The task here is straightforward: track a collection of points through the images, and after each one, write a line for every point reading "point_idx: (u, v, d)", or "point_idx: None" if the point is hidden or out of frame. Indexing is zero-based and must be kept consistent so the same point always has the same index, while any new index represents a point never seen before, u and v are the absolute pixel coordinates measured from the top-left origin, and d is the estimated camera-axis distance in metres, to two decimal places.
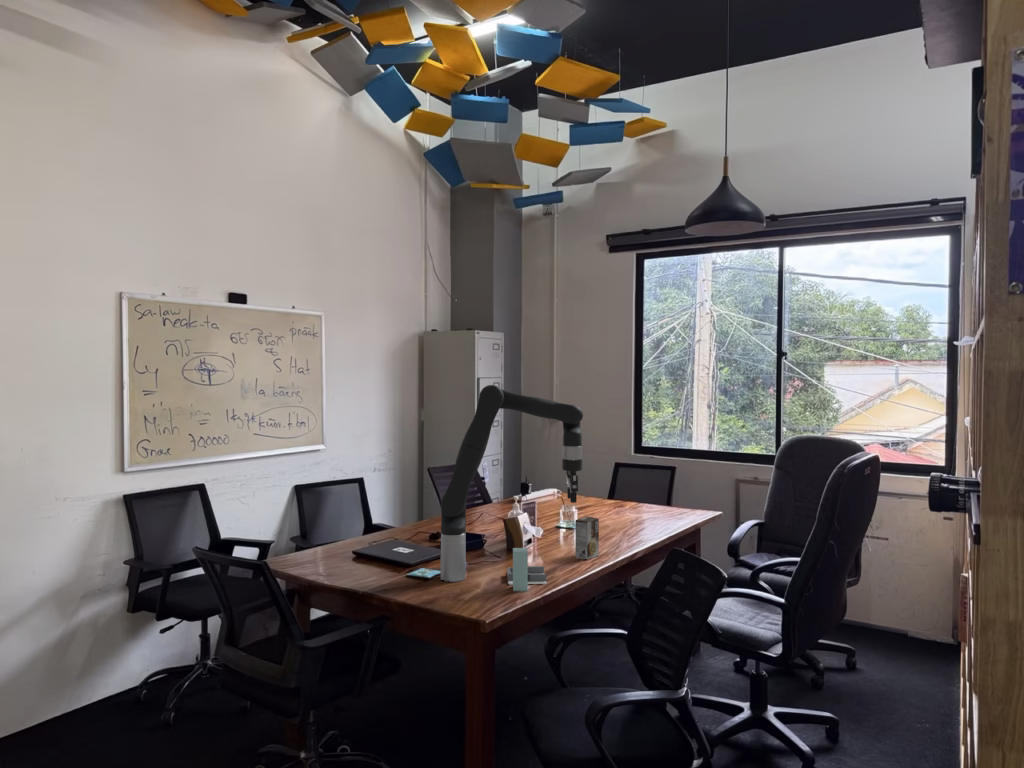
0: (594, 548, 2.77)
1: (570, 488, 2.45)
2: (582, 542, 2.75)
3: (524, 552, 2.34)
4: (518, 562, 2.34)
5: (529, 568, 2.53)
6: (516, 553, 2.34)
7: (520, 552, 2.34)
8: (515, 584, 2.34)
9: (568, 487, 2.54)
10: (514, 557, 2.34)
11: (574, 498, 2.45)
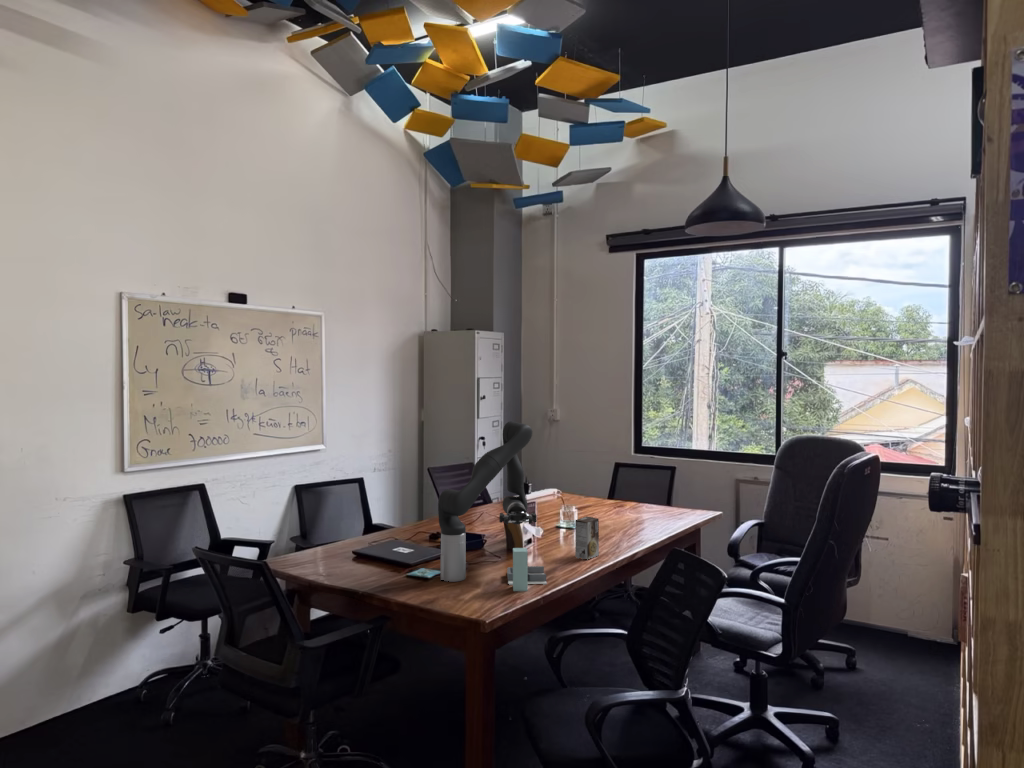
0: (594, 548, 2.77)
1: (530, 515, 2.53)
2: (582, 542, 2.75)
3: (524, 552, 2.34)
4: (518, 562, 2.34)
5: (529, 568, 2.53)
6: (516, 553, 2.34)
7: (520, 552, 2.34)
8: (515, 584, 2.34)
9: None
10: (514, 557, 2.34)
11: None
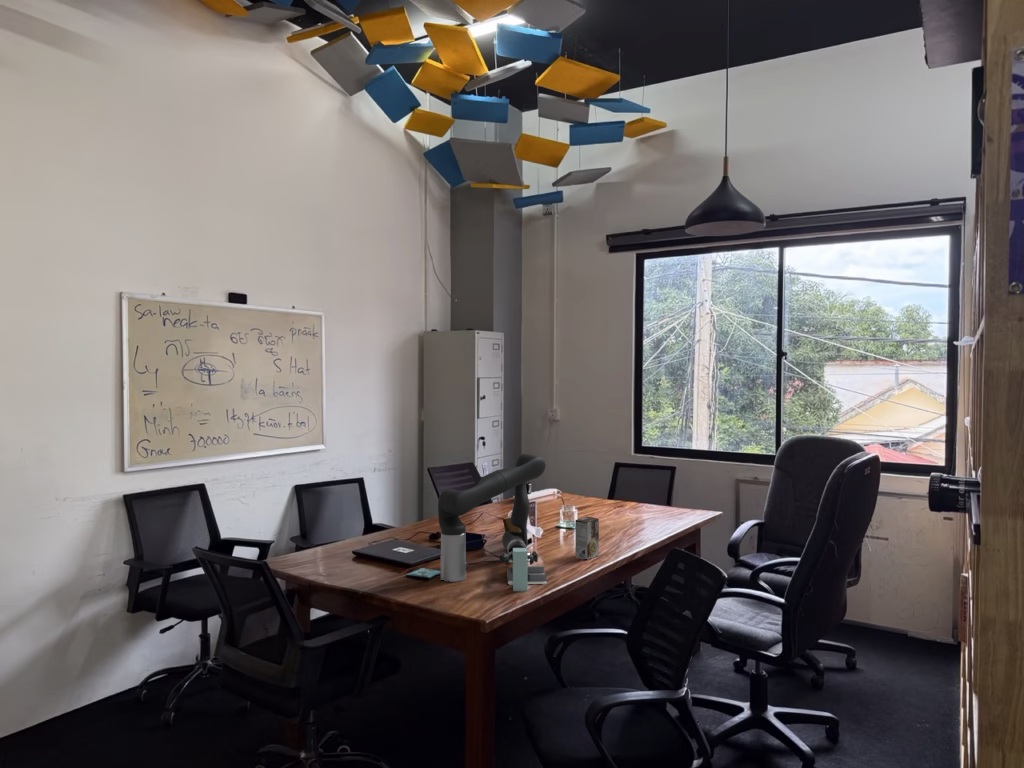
0: (594, 548, 2.77)
1: (531, 555, 2.47)
2: (582, 542, 2.75)
3: (524, 552, 2.34)
4: (518, 562, 2.34)
5: (529, 568, 2.53)
6: (516, 553, 2.34)
7: (520, 552, 2.34)
8: (515, 584, 2.34)
9: (507, 557, 2.45)
10: (514, 557, 2.34)
11: None
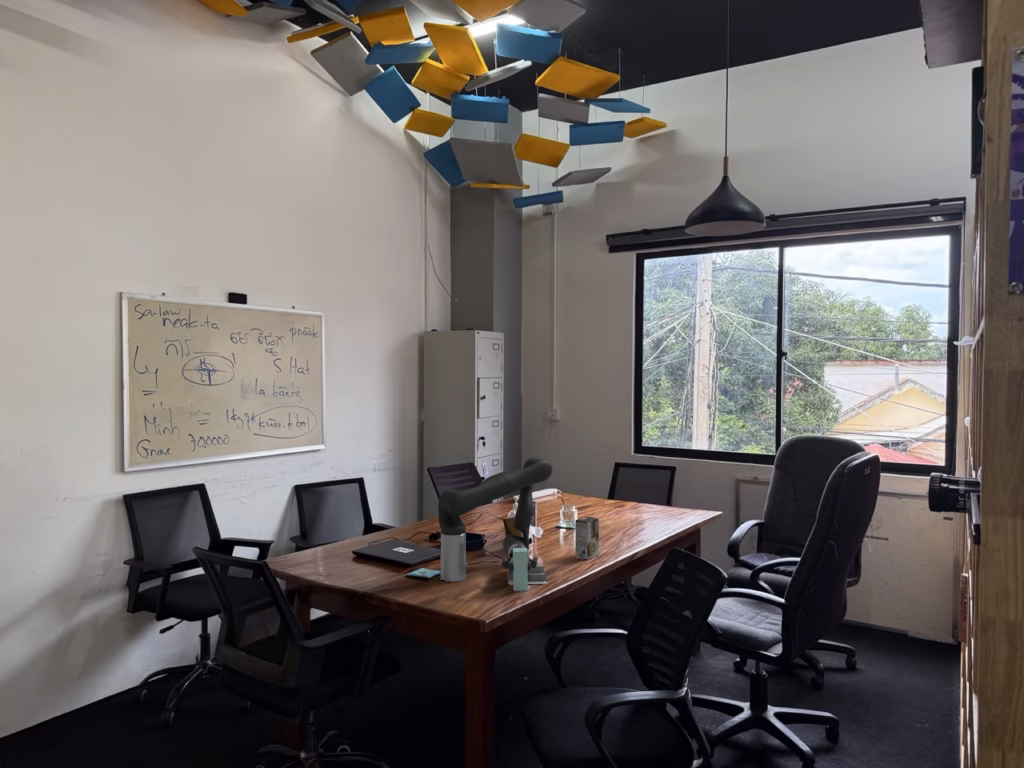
0: (594, 548, 2.77)
1: (529, 560, 2.39)
2: (582, 542, 2.75)
3: (524, 552, 2.34)
4: (518, 562, 2.34)
5: None
6: (516, 553, 2.34)
7: (520, 552, 2.34)
8: (515, 584, 2.34)
9: (512, 563, 2.38)
10: (514, 557, 2.34)
11: (530, 567, 2.35)
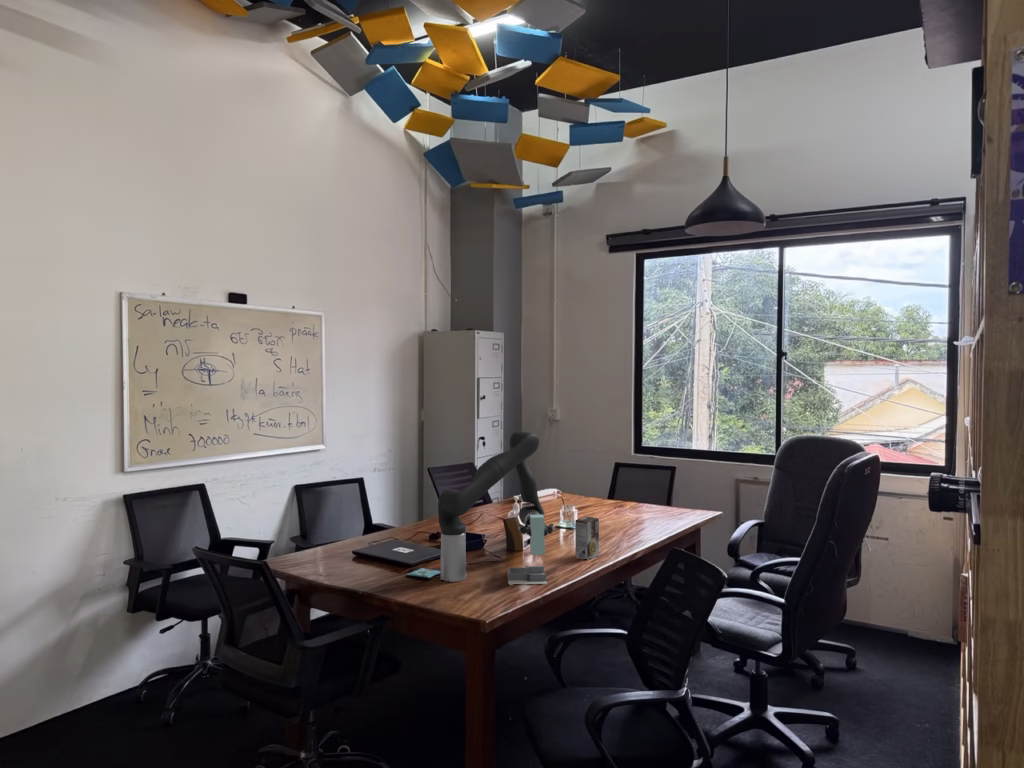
0: (594, 548, 2.77)
1: (545, 526, 2.51)
2: (582, 542, 2.75)
3: (541, 518, 2.46)
4: (535, 527, 2.46)
5: (529, 568, 2.53)
6: (533, 519, 2.46)
7: (537, 518, 2.46)
8: (533, 548, 2.46)
9: (529, 528, 2.50)
10: (531, 523, 2.46)
11: None
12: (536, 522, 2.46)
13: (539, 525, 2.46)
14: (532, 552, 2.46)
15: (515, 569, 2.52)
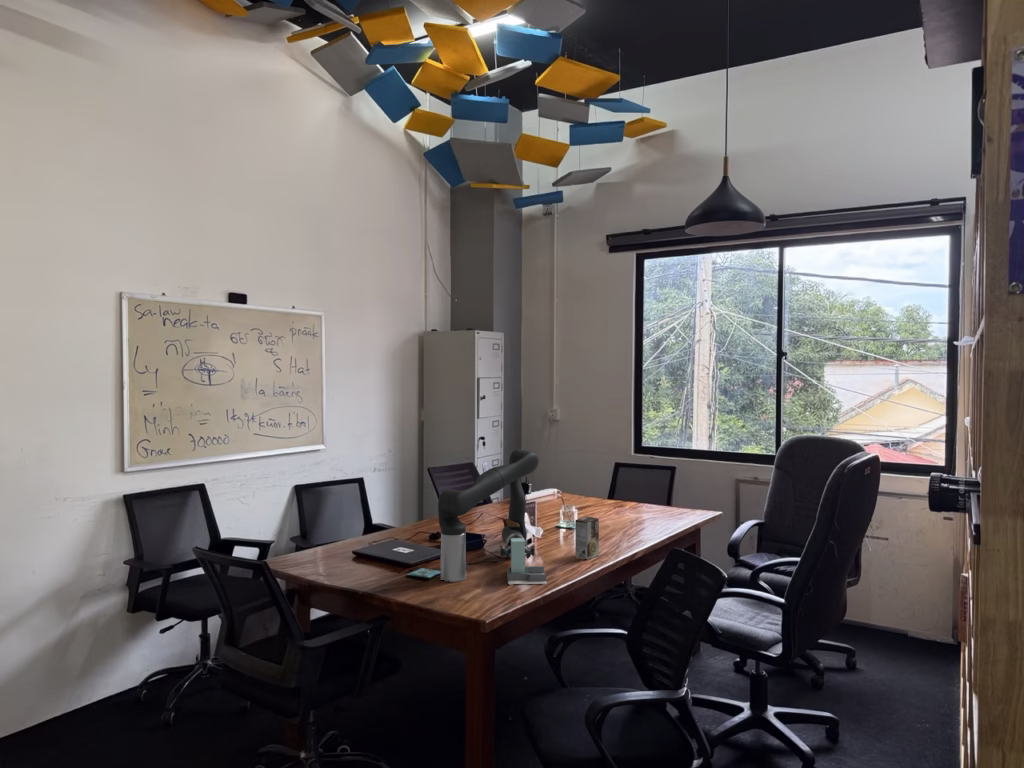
0: (594, 548, 2.77)
1: (528, 548, 2.51)
2: (582, 542, 2.75)
3: (522, 542, 2.46)
4: (516, 551, 2.46)
5: (529, 568, 2.53)
6: (514, 543, 2.46)
7: (518, 542, 2.46)
8: (513, 572, 2.46)
9: None
10: (512, 547, 2.46)
11: None
12: (517, 546, 2.46)
13: (520, 549, 2.46)
14: None
15: None
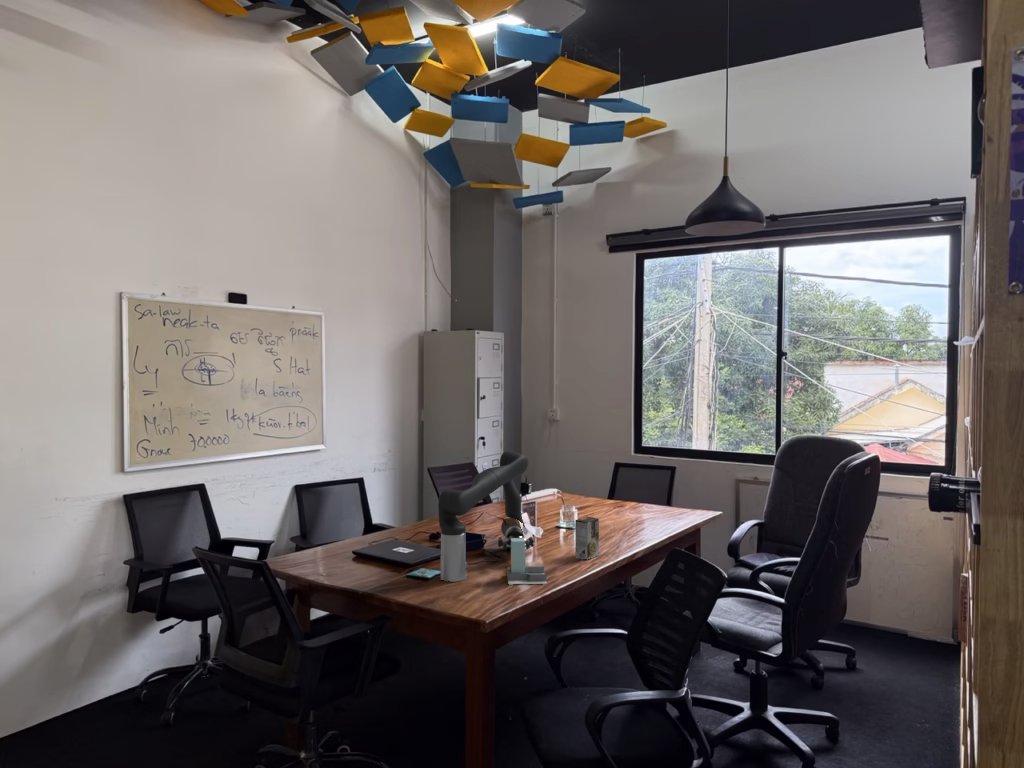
0: (594, 548, 2.77)
1: (527, 540, 2.65)
2: (582, 542, 2.75)
3: (522, 542, 2.46)
4: (516, 551, 2.46)
5: (529, 568, 2.53)
6: (514, 543, 2.46)
7: (518, 542, 2.46)
8: (513, 572, 2.46)
9: (505, 542, 2.63)
10: (512, 547, 2.46)
11: None
12: (517, 546, 2.46)
13: (520, 549, 2.46)
14: None
15: None
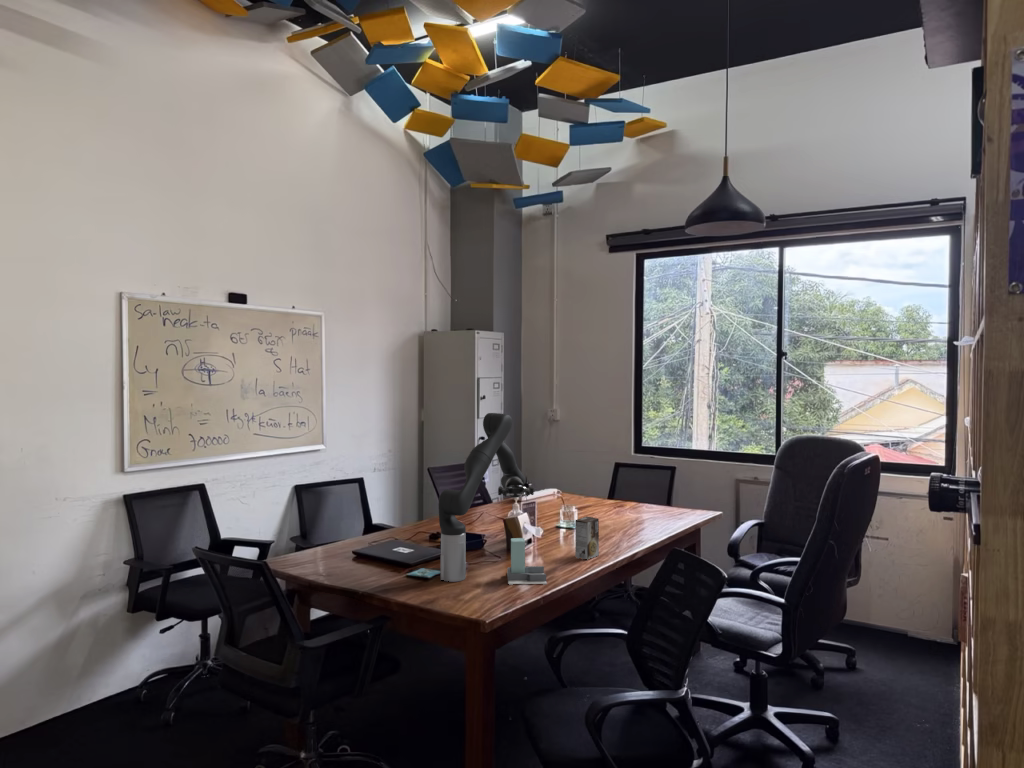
0: (594, 548, 2.77)
1: (527, 488, 2.65)
2: (582, 542, 2.75)
3: (522, 542, 2.46)
4: (516, 551, 2.46)
5: (529, 568, 2.53)
6: (514, 543, 2.46)
7: (518, 542, 2.46)
8: (513, 572, 2.46)
9: (505, 490, 2.63)
10: (512, 547, 2.46)
11: None
12: (517, 546, 2.46)
13: (520, 549, 2.46)
14: None
15: None
